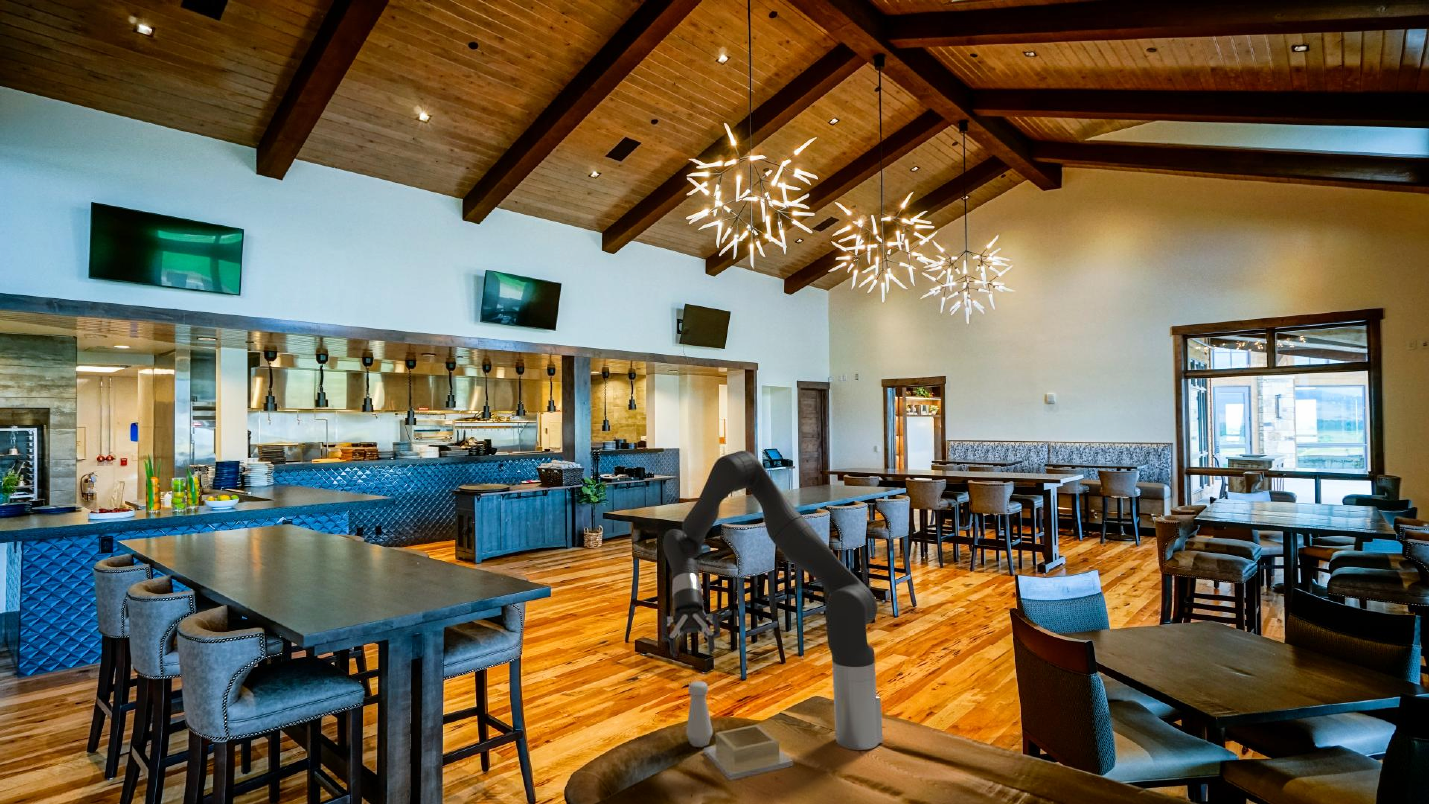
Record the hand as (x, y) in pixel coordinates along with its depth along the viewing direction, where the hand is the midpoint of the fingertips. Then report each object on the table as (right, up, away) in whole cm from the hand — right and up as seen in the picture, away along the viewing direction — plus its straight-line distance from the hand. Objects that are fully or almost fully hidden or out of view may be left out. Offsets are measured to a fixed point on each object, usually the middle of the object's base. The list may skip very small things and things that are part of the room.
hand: (693, 653), depth 166 cm
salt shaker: (+2, -16, -12) cm, 20 cm away
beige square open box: (+12, -14, -21) cm, 28 cm away
